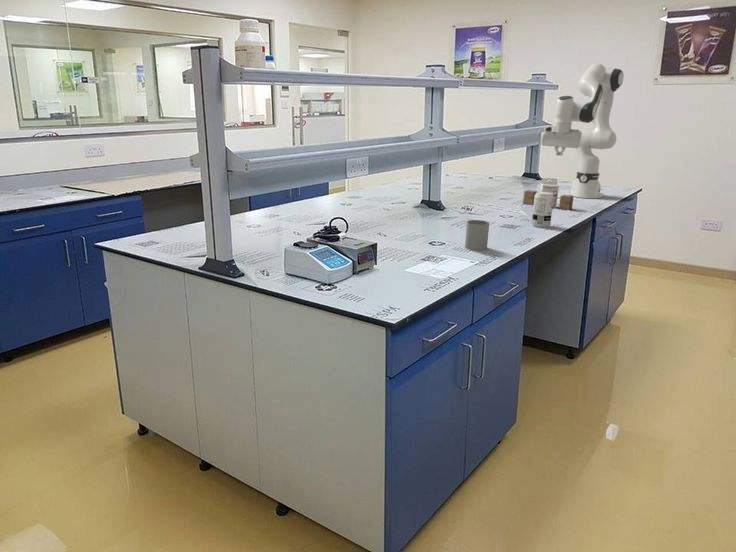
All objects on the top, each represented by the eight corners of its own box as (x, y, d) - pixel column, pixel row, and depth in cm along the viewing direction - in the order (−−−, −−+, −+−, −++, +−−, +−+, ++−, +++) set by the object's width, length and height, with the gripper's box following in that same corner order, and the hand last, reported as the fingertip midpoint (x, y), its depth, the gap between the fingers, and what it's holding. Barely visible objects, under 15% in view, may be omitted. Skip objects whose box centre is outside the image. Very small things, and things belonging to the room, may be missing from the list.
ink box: (539, 207, 303) (543, 179, 298) (538, 205, 308) (541, 177, 303) (556, 207, 302) (559, 179, 298) (554, 206, 307) (557, 178, 302)
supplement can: (529, 223, 263) (533, 191, 258) (547, 224, 263) (551, 191, 258) (533, 227, 255) (537, 194, 251) (552, 228, 255) (556, 194, 251)
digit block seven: (527, 202, 314) (528, 189, 312) (535, 204, 311) (537, 191, 309) (523, 203, 310) (524, 190, 308) (531, 205, 307) (533, 192, 305)
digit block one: (562, 208, 302) (564, 194, 300) (571, 209, 299) (573, 195, 297) (558, 209, 298) (560, 195, 296) (568, 210, 295) (570, 197, 293)
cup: (462, 249, 217) (464, 223, 213) (467, 244, 224) (469, 219, 221) (485, 251, 214) (487, 225, 211) (488, 246, 221) (491, 221, 218)
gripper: (584, 129, 294) (580, 156, 298) (546, 127, 306) (543, 153, 311) (579, 130, 289) (576, 157, 294) (541, 128, 301) (538, 154, 306)
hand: (559, 155), depth 302 cm, fingers closed
